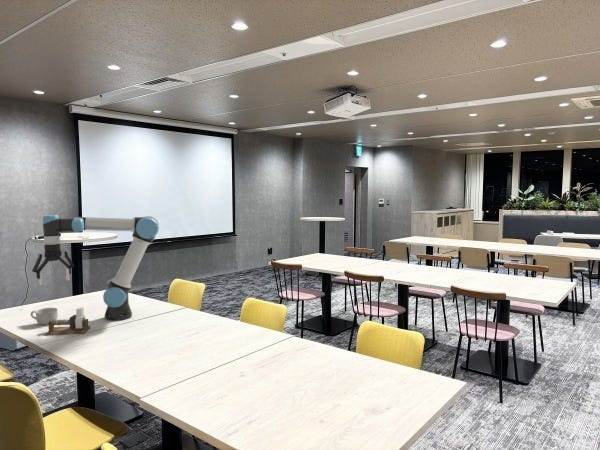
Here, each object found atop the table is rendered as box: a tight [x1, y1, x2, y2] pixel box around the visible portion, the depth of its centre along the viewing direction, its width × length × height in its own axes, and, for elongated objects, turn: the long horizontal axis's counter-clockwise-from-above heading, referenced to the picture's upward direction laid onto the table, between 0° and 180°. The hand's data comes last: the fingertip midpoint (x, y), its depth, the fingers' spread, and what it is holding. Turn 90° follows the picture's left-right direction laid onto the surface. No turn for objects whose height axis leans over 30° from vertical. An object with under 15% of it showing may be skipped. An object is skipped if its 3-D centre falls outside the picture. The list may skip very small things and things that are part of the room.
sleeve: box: [75, 306, 86, 328], centre depth 231 cm, size 3×6×10 cm, turn 8°
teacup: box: [30, 307, 59, 326], centre depth 243 cm, size 14×11×8 cm
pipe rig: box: [44, 318, 92, 336], centre depth 230 cm, size 19×11×6 cm, turn 98°
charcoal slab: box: [69, 314, 77, 330], centre depth 230 cm, size 2×6×6 cm, turn 8°
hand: (54, 282), depth 233 cm, fingers open, 13 cm apart
